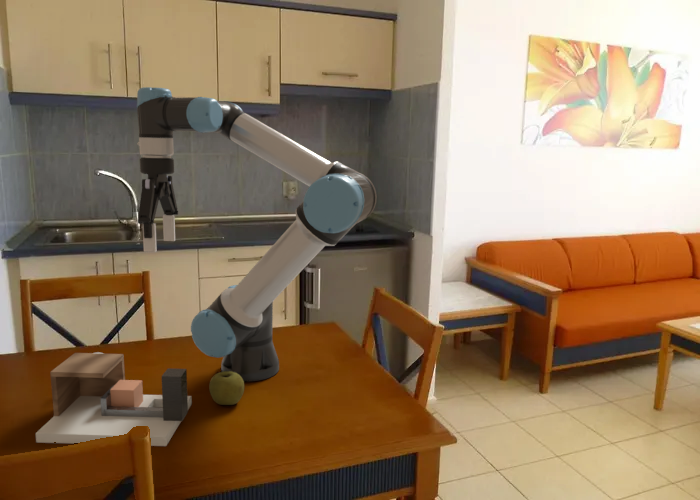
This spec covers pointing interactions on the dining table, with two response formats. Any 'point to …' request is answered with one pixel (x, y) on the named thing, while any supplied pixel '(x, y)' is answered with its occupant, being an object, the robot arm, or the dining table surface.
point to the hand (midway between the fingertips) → (160, 246)
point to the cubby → (84, 377)
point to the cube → (127, 393)
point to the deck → (104, 423)
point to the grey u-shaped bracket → (171, 395)
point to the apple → (226, 388)
